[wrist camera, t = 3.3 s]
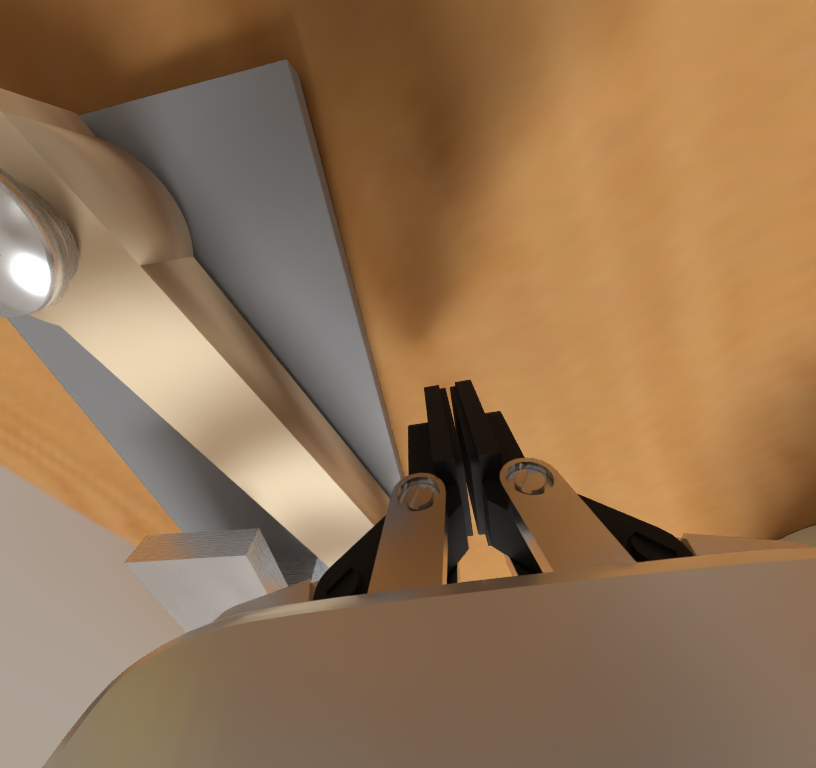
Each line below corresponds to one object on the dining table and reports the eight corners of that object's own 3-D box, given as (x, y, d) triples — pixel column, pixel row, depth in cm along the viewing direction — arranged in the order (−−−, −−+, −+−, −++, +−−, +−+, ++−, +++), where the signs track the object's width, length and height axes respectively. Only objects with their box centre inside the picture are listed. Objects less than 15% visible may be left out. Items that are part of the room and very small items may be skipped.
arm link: (-13, 195, 10) (-131, 187, 8) (91, 91, 9) (-14, 48, 6) (333, 535, 18) (323, 577, 16) (412, 505, 16) (413, 547, 14)
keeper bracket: (192, 480, 16) (124, 562, 12) (285, 473, 16) (245, 555, 12) (256, 587, 21) (220, 671, 17) (328, 583, 20) (309, 668, 17)
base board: (-73, 172, 11) (-117, 167, 10) (298, 74, 9) (286, 58, 8) (242, 581, 22) (235, 596, 21) (425, 560, 21) (426, 575, 20)
